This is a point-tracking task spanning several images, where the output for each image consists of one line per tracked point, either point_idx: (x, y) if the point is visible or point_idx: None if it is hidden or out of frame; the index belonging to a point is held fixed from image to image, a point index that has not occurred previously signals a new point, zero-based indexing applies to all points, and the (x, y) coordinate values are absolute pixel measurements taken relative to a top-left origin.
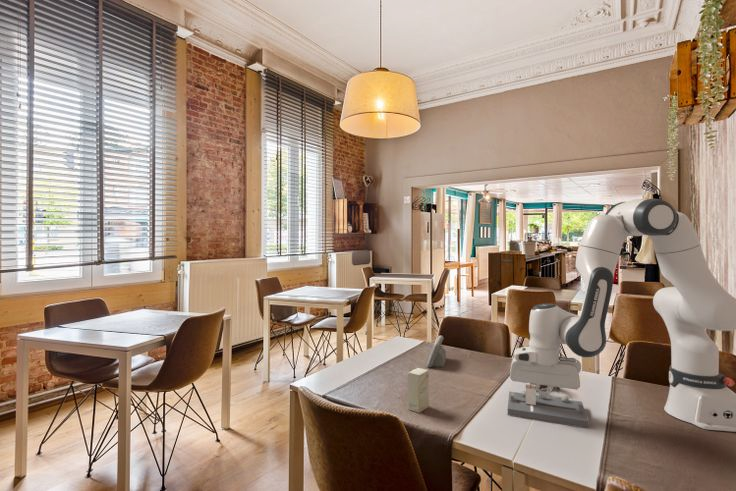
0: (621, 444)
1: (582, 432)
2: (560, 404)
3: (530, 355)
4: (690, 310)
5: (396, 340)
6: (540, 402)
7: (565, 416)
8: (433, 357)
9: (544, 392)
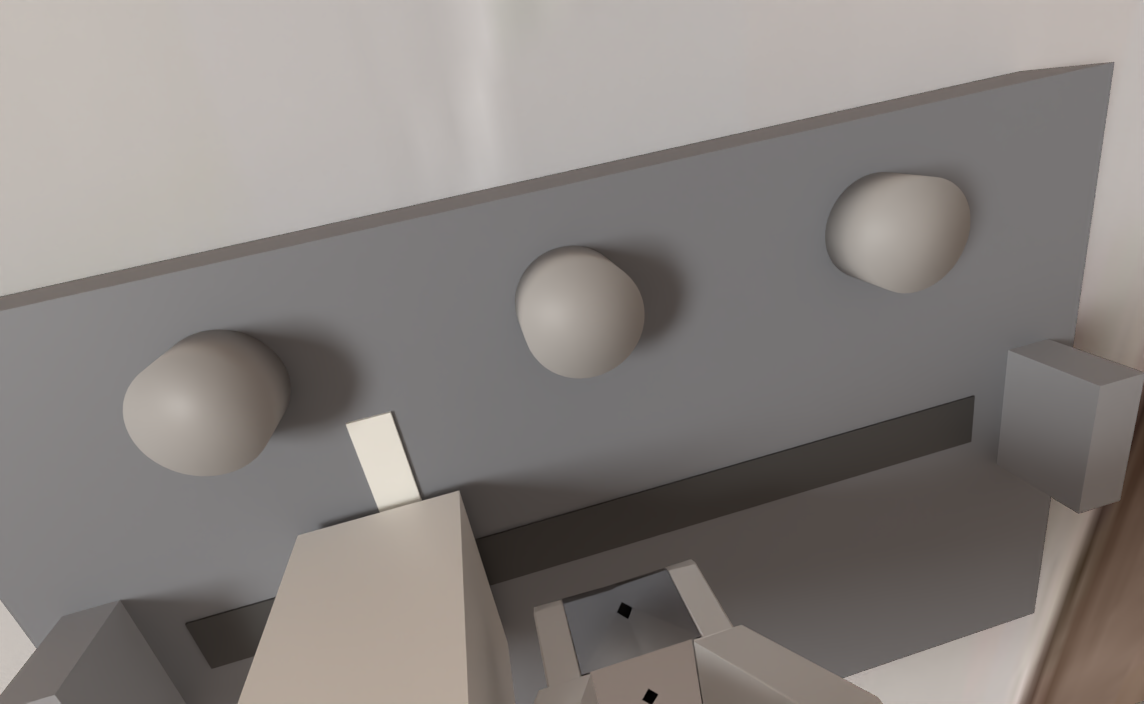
0: (1129, 646)
1: (915, 658)
2: (803, 376)
3: None
4: None
5: None
6: (537, 486)
7: (841, 655)
8: None
9: (664, 680)
